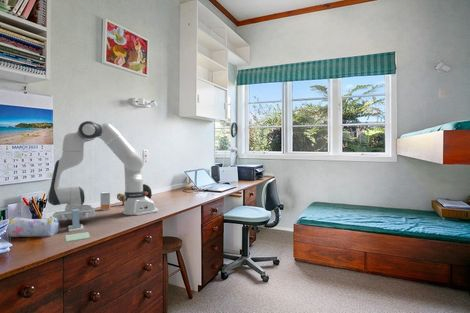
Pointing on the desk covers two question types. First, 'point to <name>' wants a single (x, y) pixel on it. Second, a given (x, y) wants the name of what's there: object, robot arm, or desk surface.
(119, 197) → the lion figurine
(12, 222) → the pencil case
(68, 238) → the green mat
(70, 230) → the slot box
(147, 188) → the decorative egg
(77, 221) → the blue cover plate
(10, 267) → the desk surface
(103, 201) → the skincare box
